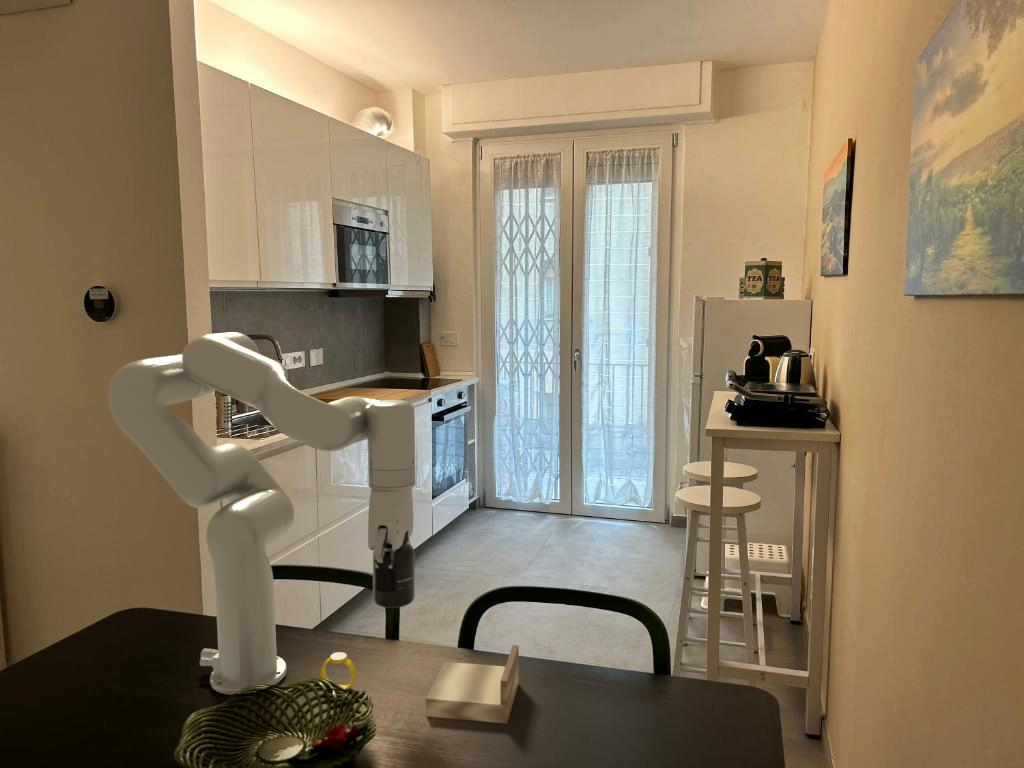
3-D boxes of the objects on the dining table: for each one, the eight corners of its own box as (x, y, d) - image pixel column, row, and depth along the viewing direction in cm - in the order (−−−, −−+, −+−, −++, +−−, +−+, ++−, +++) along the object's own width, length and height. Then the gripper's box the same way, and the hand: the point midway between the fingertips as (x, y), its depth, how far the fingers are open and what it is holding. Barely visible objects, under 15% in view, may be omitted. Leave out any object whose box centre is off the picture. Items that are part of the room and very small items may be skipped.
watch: (357, 687, 128) (359, 654, 127) (351, 696, 125) (352, 662, 124) (325, 681, 129) (326, 649, 128) (318, 689, 126) (319, 656, 126)
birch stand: (426, 716, 118) (425, 674, 118) (444, 678, 130) (444, 639, 129) (507, 723, 116) (506, 681, 116) (518, 684, 128) (518, 645, 127)
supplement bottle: (407, 610, 119) (405, 538, 118) (366, 607, 121) (365, 535, 119) (420, 593, 126) (419, 525, 125) (382, 590, 127) (381, 522, 126)
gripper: (387, 463, 130) (389, 562, 132) (350, 489, 113) (353, 602, 115) (428, 465, 129) (430, 564, 131) (397, 491, 112) (399, 605, 114)
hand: (394, 581), depth 123 cm, fingers closed on supplement bottle, 6 cm apart
